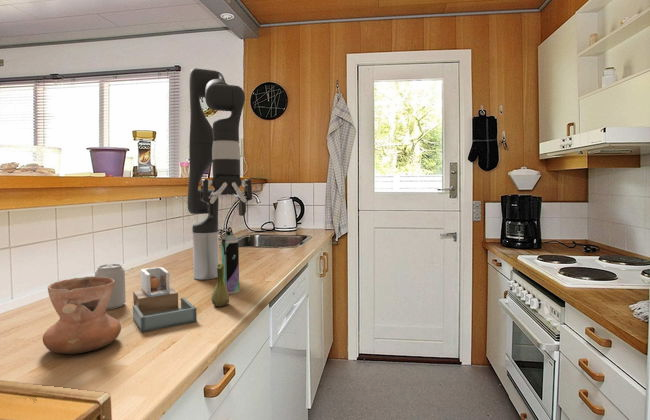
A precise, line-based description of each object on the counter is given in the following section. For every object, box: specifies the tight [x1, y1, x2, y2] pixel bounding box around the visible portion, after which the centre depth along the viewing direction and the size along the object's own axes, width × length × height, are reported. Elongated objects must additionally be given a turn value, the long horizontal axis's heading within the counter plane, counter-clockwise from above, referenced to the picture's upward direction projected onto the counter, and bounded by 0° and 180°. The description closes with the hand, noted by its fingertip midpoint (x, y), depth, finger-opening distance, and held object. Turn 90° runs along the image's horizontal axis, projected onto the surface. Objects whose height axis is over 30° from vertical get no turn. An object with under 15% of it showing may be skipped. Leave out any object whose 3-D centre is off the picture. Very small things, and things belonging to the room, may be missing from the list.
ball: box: [150, 278, 160, 289], centre depth 112 cm, size 3×3×3 cm
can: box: [94, 263, 127, 311], centre depth 114 cm, size 8×8×12 cm
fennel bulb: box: [211, 263, 230, 307], centre depth 115 cm, size 6×5×12 cm
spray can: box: [220, 230, 240, 295], centre depth 129 cm, size 6×6×20 cm
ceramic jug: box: [42, 275, 122, 355], centre depth 86 cm, size 18×14×14 cm
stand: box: [132, 285, 179, 314], centre depth 111 cm, size 9×10×5 cm
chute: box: [140, 266, 170, 297], centre depth 111 cm, size 9×6×6 cm, turn 34°
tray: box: [132, 296, 198, 333], centre depth 103 cm, size 12×13×4 cm
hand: (227, 216), depth 111 cm, fingers open, 8 cm apart
